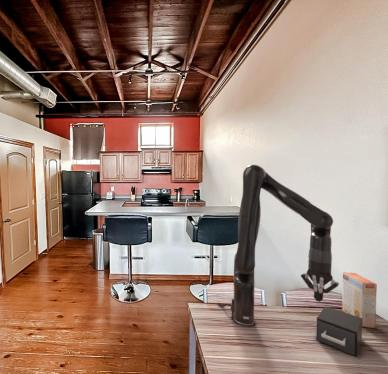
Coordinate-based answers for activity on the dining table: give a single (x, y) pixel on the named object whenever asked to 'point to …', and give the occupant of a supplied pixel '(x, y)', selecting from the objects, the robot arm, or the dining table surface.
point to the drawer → (336, 337)
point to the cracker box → (359, 298)
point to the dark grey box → (342, 324)
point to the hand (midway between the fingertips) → (318, 300)
